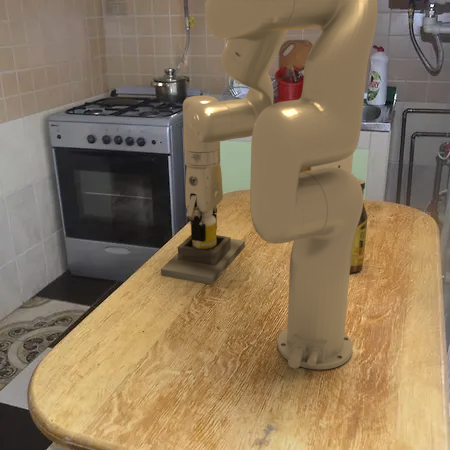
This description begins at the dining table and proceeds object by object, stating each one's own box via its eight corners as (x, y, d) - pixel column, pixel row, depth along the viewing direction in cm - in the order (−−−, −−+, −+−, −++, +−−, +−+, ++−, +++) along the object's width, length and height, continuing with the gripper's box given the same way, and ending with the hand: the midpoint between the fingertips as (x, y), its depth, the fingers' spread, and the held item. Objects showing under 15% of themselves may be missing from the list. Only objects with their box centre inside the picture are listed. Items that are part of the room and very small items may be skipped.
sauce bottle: (363, 275, 118) (371, 187, 110) (333, 272, 119) (340, 185, 111) (362, 261, 124) (370, 177, 116) (334, 259, 125) (340, 175, 117)
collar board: (212, 284, 115) (211, 265, 113) (160, 275, 119) (159, 256, 117) (244, 246, 132) (244, 229, 130) (199, 239, 136) (198, 222, 134)
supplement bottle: (221, 246, 125) (220, 206, 121) (207, 255, 121) (206, 214, 117) (201, 241, 128) (200, 201, 124) (187, 250, 123) (186, 209, 120)
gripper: (202, 169, 107) (204, 253, 114) (233, 148, 122) (233, 223, 129) (167, 165, 110) (171, 247, 117) (202, 145, 124) (204, 219, 131)
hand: (204, 234), depth 123 cm, fingers closed on supplement bottle, 5 cm apart
